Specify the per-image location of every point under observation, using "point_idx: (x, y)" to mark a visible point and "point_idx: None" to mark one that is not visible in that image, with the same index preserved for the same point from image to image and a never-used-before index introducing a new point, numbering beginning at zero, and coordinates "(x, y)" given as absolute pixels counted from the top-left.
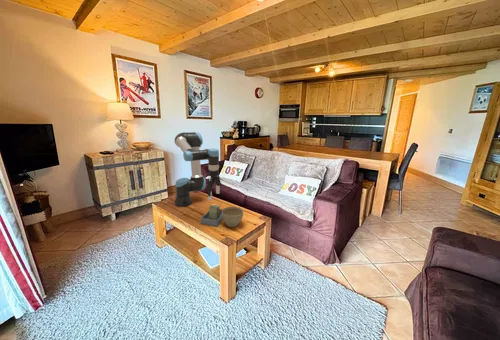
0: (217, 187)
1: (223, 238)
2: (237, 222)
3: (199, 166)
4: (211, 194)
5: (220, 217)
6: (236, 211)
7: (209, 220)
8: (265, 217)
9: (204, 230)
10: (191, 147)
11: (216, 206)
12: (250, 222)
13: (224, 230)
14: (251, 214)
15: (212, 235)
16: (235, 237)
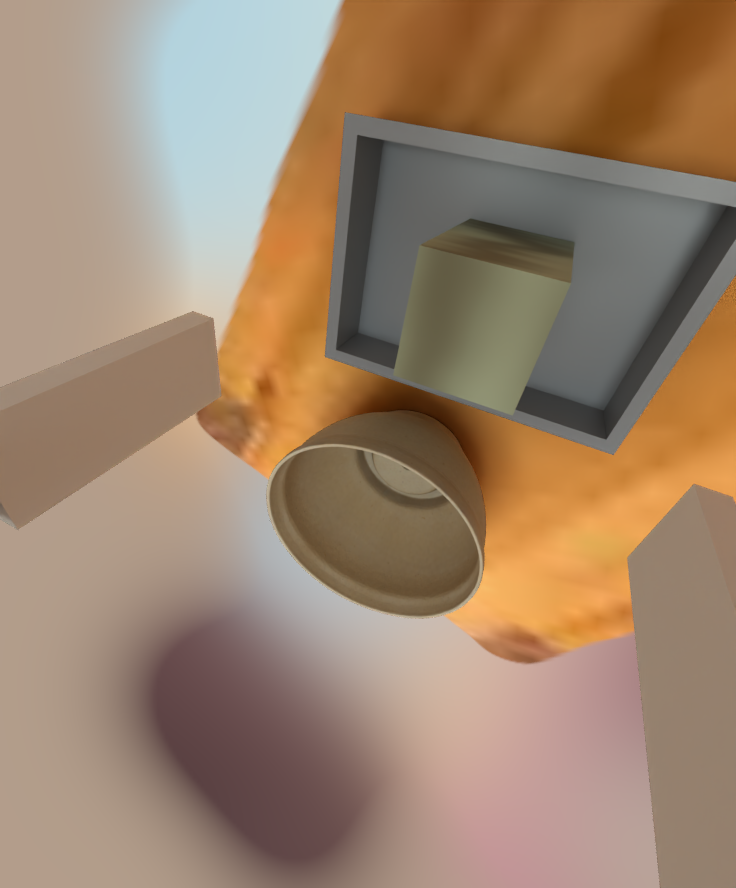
0: (703, 764)
1: (233, 395)
2: (342, 512)
3: None
4: (88, 465)
5: (405, 383)
6: (475, 552)
7: (335, 265)
8: (529, 663)
9: (272, 226)
10: None
11: (475, 370)
12: None
13: (315, 398)
14: (596, 611)
15: (235, 318)
16: (264, 461)
